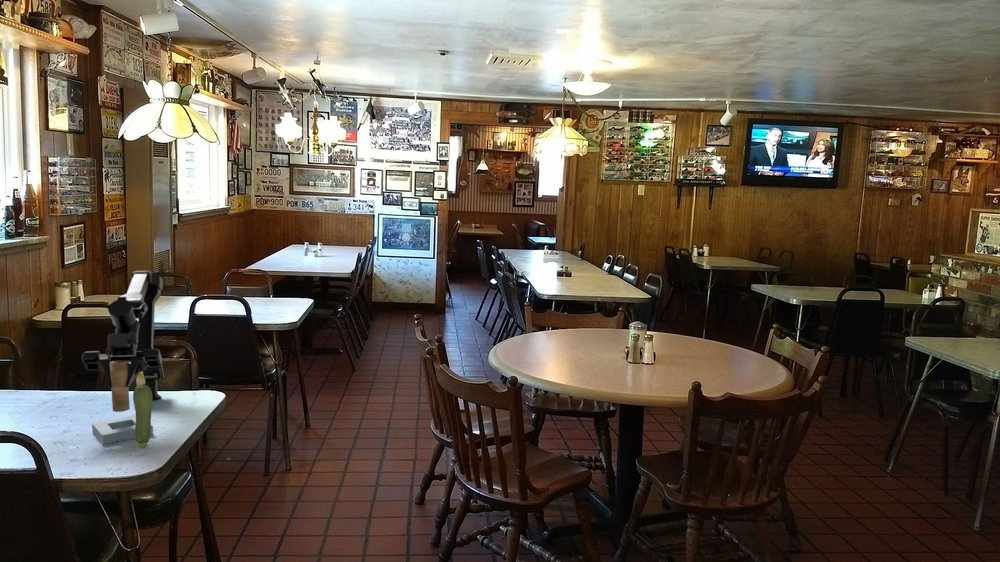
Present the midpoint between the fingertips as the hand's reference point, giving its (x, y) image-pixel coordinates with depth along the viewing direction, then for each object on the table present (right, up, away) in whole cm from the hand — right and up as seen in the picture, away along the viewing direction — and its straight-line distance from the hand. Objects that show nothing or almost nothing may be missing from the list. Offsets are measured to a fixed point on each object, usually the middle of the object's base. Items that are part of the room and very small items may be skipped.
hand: (118, 386), depth 187 cm
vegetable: (+10, -15, -6) cm, 19 cm away
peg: (0, -6, +2) cm, 7 cm away
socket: (-1, -13, +3) cm, 13 cm away
